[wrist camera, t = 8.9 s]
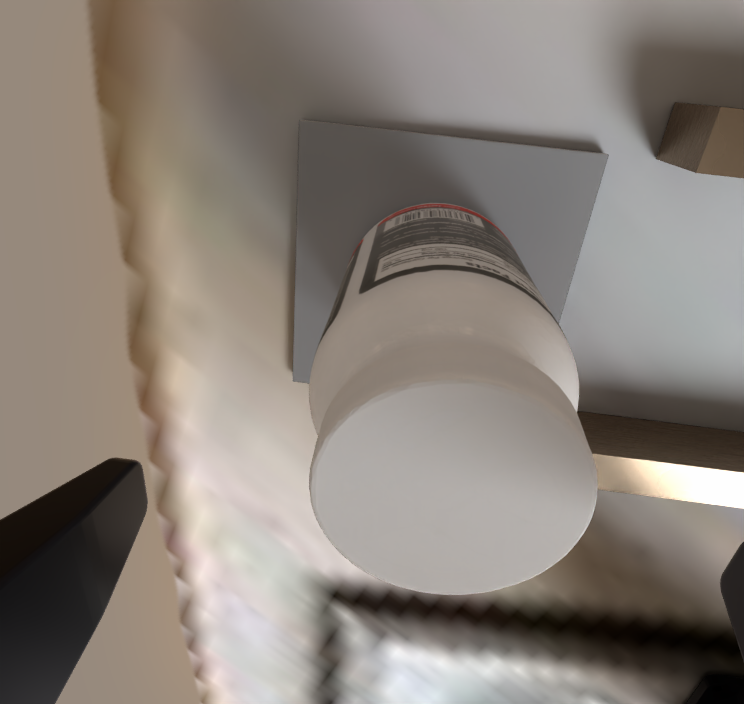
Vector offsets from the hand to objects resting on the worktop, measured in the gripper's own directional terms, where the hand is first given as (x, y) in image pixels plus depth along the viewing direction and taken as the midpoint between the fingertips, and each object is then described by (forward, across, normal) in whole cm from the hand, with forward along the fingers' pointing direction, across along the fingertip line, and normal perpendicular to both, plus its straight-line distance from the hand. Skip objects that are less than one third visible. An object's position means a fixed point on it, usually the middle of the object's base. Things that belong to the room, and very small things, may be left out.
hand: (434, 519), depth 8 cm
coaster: (+11, 0, 0) cm, 11 cm away
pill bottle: (+11, 0, 0) cm, 11 cm away
